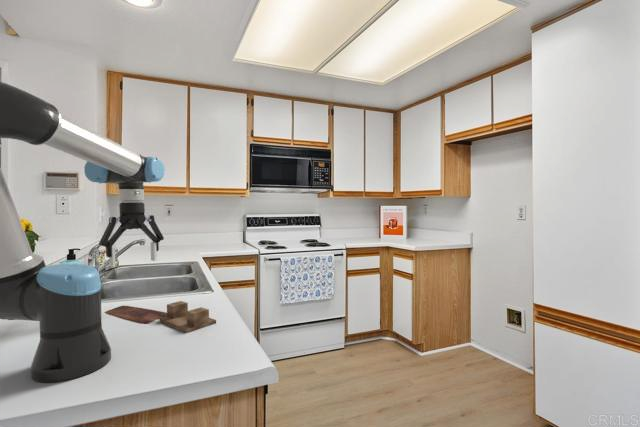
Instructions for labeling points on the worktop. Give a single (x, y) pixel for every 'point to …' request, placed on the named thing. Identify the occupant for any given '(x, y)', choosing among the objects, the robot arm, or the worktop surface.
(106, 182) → the robot arm
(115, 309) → the wooden tablet
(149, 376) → the worktop surface
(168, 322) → the walnut stand
